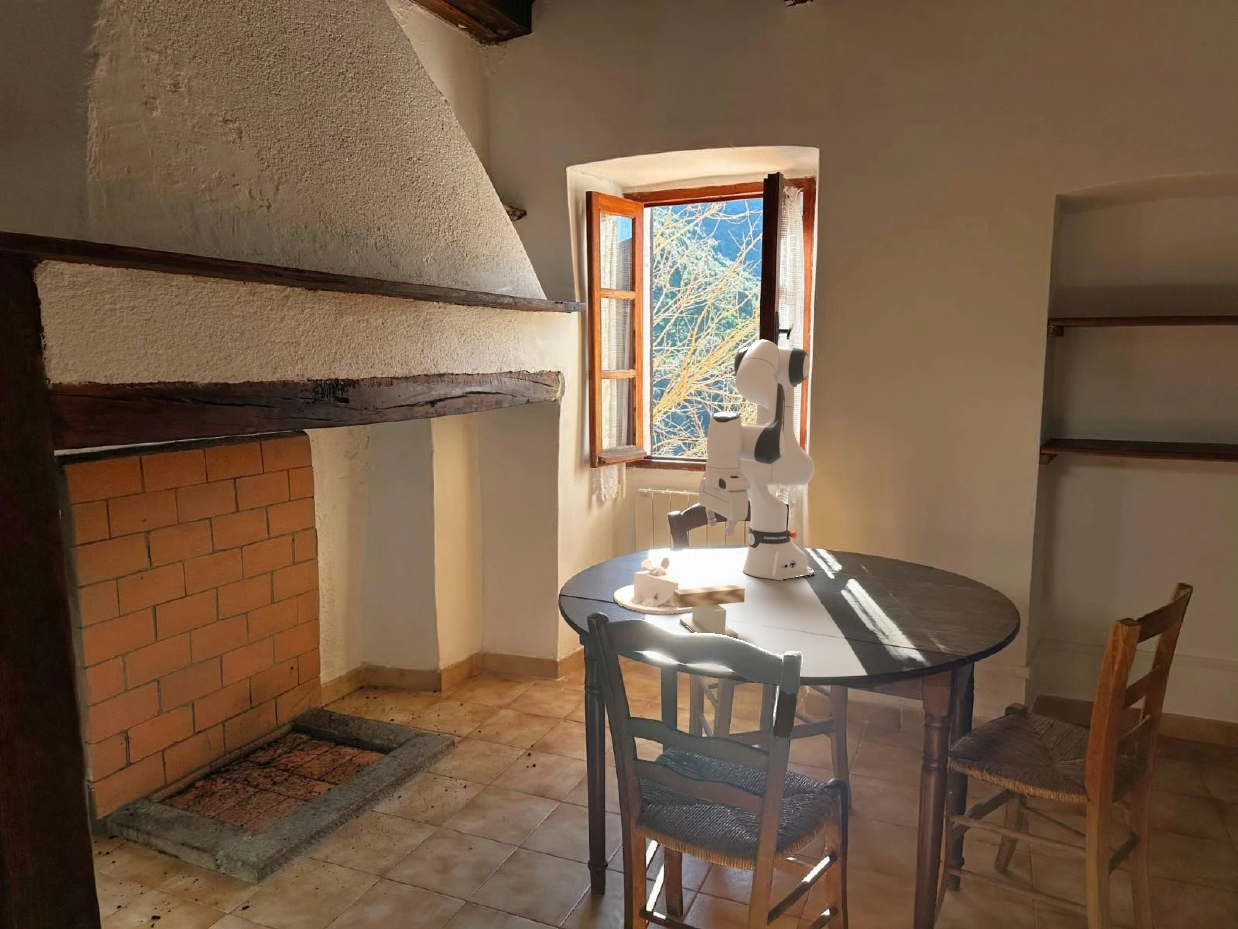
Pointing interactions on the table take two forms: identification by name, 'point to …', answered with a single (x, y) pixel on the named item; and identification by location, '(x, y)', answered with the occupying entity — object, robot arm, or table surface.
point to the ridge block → (709, 621)
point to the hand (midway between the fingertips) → (720, 530)
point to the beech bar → (708, 596)
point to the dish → (651, 590)
